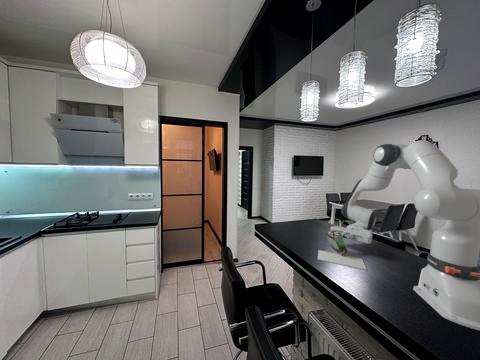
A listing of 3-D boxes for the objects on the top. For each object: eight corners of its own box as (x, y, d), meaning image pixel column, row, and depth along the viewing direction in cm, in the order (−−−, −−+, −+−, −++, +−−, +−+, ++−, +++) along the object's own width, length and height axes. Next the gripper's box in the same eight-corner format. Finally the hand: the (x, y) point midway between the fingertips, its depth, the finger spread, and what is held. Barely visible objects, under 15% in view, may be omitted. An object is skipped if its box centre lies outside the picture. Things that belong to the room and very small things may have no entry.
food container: (354, 251, 95) (345, 233, 95) (343, 257, 95) (334, 238, 95) (341, 243, 107) (333, 227, 108) (331, 248, 107) (323, 232, 108)
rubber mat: (366, 270, 84) (366, 269, 84) (317, 259, 92) (317, 258, 92) (361, 259, 95) (362, 258, 95) (318, 250, 103) (318, 250, 103)
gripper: (336, 222, 118) (325, 225, 109) (375, 231, 102) (367, 236, 93) (335, 232, 118) (324, 236, 109) (374, 243, 103) (366, 249, 94)
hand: (344, 236), depth 101 cm, fingers closed
